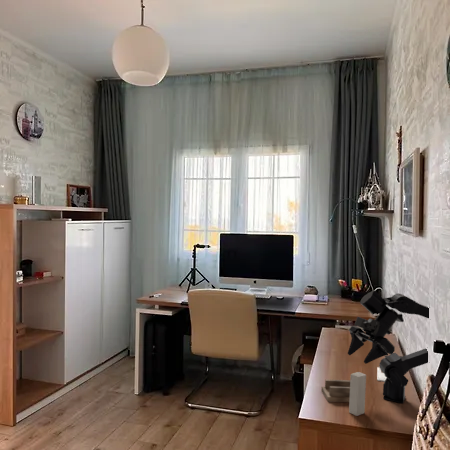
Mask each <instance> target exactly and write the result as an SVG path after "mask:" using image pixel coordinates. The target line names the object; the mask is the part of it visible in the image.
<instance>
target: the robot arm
mask: <svg viewBox="0 0 450 450" xmlns="http://www.w3.org/2000/svg"><path fill="white" fill-rule="evenodd" d="M359 303H360V305H361V306H363V307H364V308H365V309H366V310H367V311H368V312H369V313H370V314H372V315H377V316H376V317H375V318H374V319H373V318H368V319H366V318H362V317H360V316H356V320H355V322H354V325H352V326H351V327H349V329H348V332H349V334H350V336H351V341H350V345H349V348H348V351H347V355H348V356H351V355H353V354H354V353H355V352H357V351H358V350H360V348H361V347H363V346H364V345H365V342H367V341H368V342H371V343H372V344H371V349H370V350H369V351H368V353H367V355H365V358H364V360H363V363H364V364H369V363H371V362H373V361H375V360H377V359H379V358H381V360H380V362H379V366H378V367H380V369H381V373H384V375H385V377H387V378H386V380H385V382H384V383H383V385H382V386H383V387H382V390H383V391H382V396H383V399H384V400H386V401H391V402H395V403H399V404H404V403H405V399H406V397H407V396H406V386H407V385H408V384H409V383H408V382H409V379H408V378H407V377H406V376H405V375H406V374H407V373H408V372H409V371H410V370H413V369H414V368H417V367H420V366H423V365H426V364H428V351H427V349H426V348H427V347H426V348H423V349H420V350H417V351H414V352H411V353H409V354H406V355H403V356H402V355H399V354H398V353H396V352H395V350H396V348H395V347H396V346H395V345H394V344H393V343H392V342H391V341H390V340H389V339H388V338H386V335H388V336H389V335H390V334H391V331H390V330H391V329H392V327H393V326H394V324H395V323H396V322H398V323H399V322H400V323H404V322H405V321H404V317H403V314H407V315H408V314H409V315H416V316H421V317H424V318H426V319H429V308H430V307H429V306H427V305H423V304H421V303H419V302H417V301H415V300H414V299H412V298H410V297H408V296H406V295H404V294H402V293H395V294H393V295H391V296H389V297H384V298H383V297H382V296H381V295H380V294H379V293H378V292H377V291H376V290H375V289H372V291H370V292H368V293H367V294H365V295H363V297H362V298H361V300H360V302H359ZM428 307H429V308H428ZM397 311H398V312H400V313H398V312H397ZM382 357H383V358H382Z"/></svg>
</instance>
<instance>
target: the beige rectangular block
mask: <svg viewBox="0 0 450 450" xmlns="http://www.w3.org/2000/svg"><path fill="white" fill-rule="evenodd" d="M349 378H350V399H349V402H348V412H349V414H352V415H354V416H356V417H357V416H358V417H359V416H360V415H364V414H365V405H366V390H367V388H366V386H367V374H365V373H363V372H360V371H357V372H353V373H350V377H349Z"/></svg>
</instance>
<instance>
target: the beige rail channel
mask: <svg viewBox="0 0 450 450" xmlns="http://www.w3.org/2000/svg"><path fill="white" fill-rule="evenodd" d="M320 390H321V393H322V394H323V396H324V398H325V400H326V402H329V403H333V402H335V403H349V399H350V380H349V379H348V380H346V379H327V378H326V379H325V380H324V386H321V389H320Z"/></svg>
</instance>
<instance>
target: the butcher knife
mask: <svg viewBox="0 0 450 450" xmlns="http://www.w3.org/2000/svg"><path fill="white" fill-rule="evenodd" d="M376 369H377V373H376V377H377V378H376V380H377V382H385V380H386V378H387V377H385V375H384V373H383V372H382V371H381V369H380V366H377V368H376Z"/></svg>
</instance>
